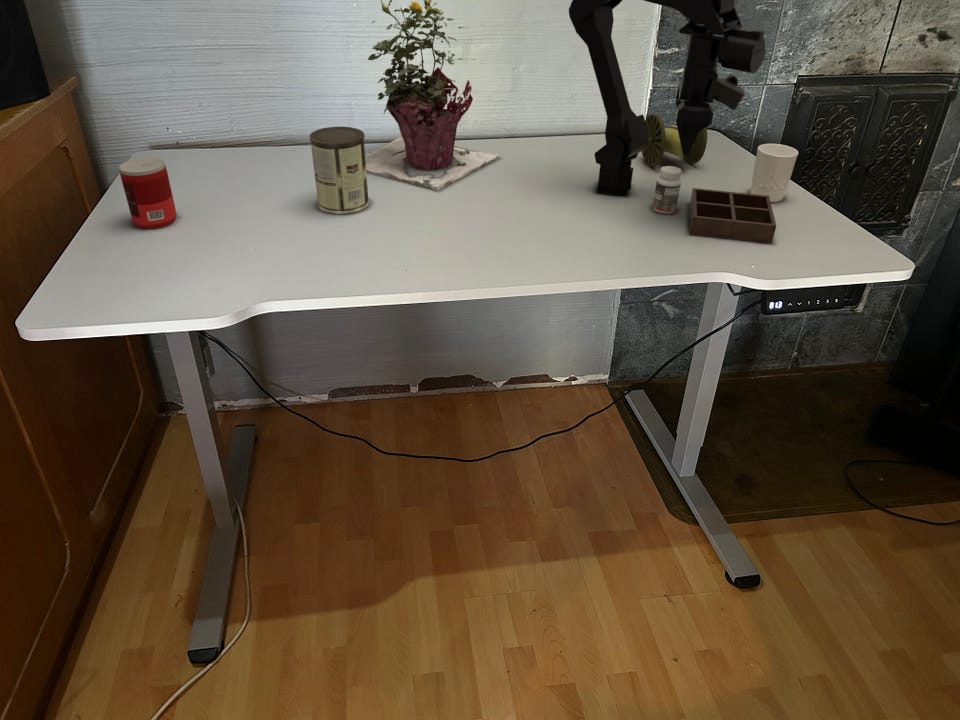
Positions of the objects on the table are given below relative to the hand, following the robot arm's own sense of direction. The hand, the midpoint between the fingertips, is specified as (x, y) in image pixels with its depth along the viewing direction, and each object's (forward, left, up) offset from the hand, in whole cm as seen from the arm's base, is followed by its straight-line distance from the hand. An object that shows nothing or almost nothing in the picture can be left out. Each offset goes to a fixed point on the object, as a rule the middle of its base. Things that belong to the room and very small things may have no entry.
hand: (685, 147), depth 144 cm
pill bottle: (-2, -1, -13) cm, 13 cm away
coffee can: (-65, -16, -13) cm, 68 cm away
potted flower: (-57, +12, -13) cm, 60 cm away
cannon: (-4, +32, -13) cm, 35 cm away
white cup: (+19, +12, -13) cm, 26 cm away
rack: (+10, -5, -13) cm, 17 cm away
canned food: (-96, -33, -13) cm, 102 cm away
